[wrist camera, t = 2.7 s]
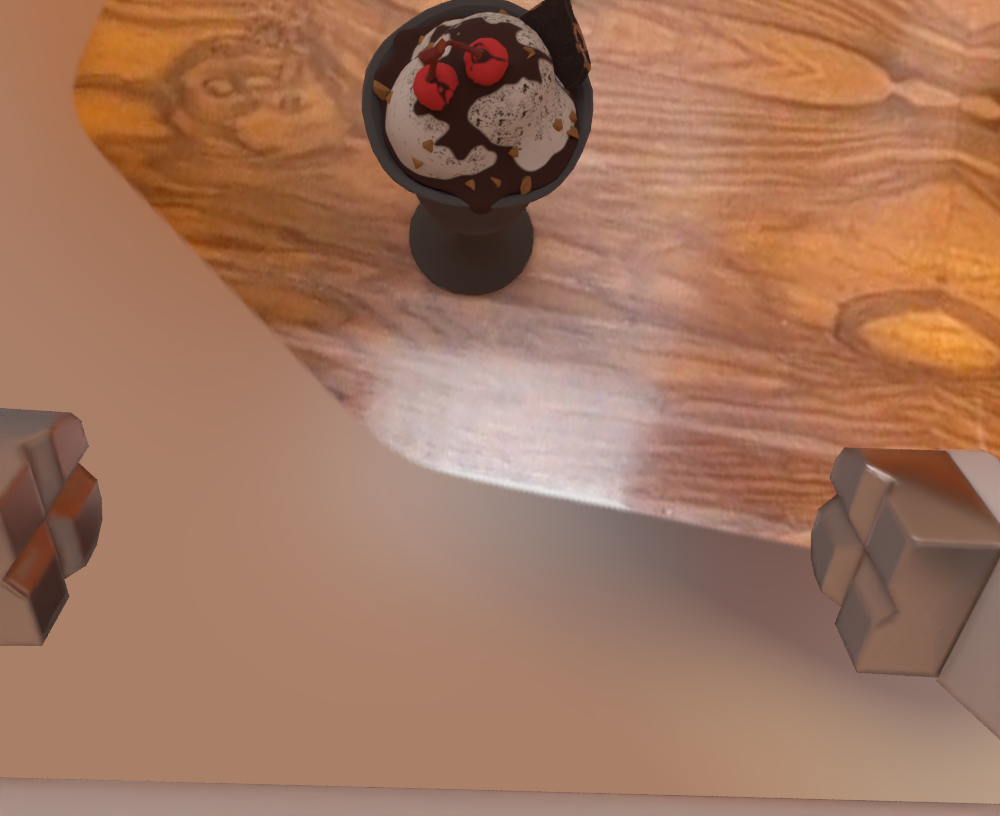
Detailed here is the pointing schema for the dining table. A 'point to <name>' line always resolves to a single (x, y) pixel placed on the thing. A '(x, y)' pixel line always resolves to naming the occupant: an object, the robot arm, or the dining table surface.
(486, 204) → the sundae
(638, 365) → the dining table surface
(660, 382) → the dining table surface
